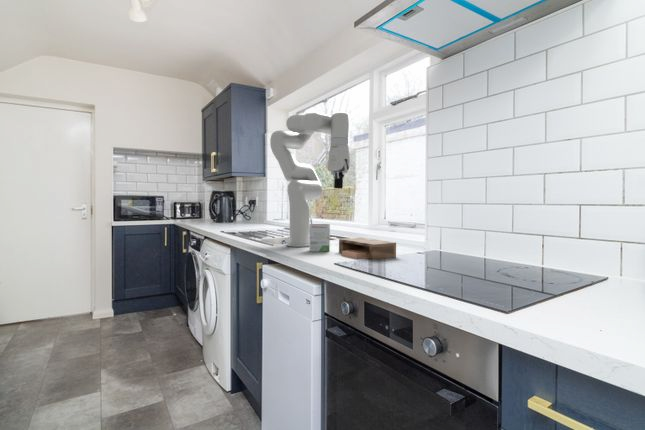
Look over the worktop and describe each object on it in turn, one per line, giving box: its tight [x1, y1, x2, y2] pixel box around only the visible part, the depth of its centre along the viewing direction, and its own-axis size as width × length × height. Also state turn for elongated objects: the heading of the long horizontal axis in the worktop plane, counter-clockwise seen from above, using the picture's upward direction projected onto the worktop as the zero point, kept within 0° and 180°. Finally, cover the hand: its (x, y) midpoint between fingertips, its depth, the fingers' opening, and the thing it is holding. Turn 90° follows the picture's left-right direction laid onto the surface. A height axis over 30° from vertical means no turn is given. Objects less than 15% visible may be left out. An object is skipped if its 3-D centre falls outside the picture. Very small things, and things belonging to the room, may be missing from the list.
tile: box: [341, 248, 370, 260], centre depth 137 cm, size 9×14×2 cm, turn 123°
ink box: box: [308, 223, 331, 253], centre depth 150 cm, size 9×5×12 cm, turn 84°
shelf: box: [338, 237, 397, 260], centre depth 139 cm, size 22×11×6 cm, turn 33°
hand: (338, 188), depth 144 cm, fingers closed
